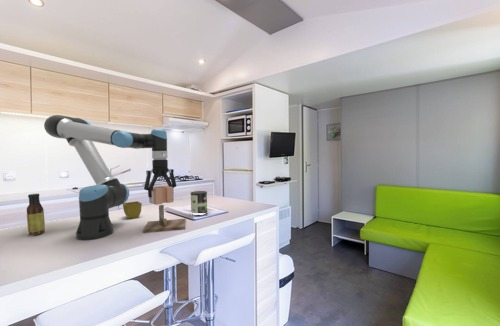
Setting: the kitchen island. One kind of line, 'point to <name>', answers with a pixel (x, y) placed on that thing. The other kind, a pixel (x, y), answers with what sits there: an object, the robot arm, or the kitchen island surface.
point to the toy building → (162, 194)
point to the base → (165, 228)
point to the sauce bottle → (35, 215)
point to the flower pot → (132, 209)
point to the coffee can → (199, 202)
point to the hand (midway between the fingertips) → (161, 201)
